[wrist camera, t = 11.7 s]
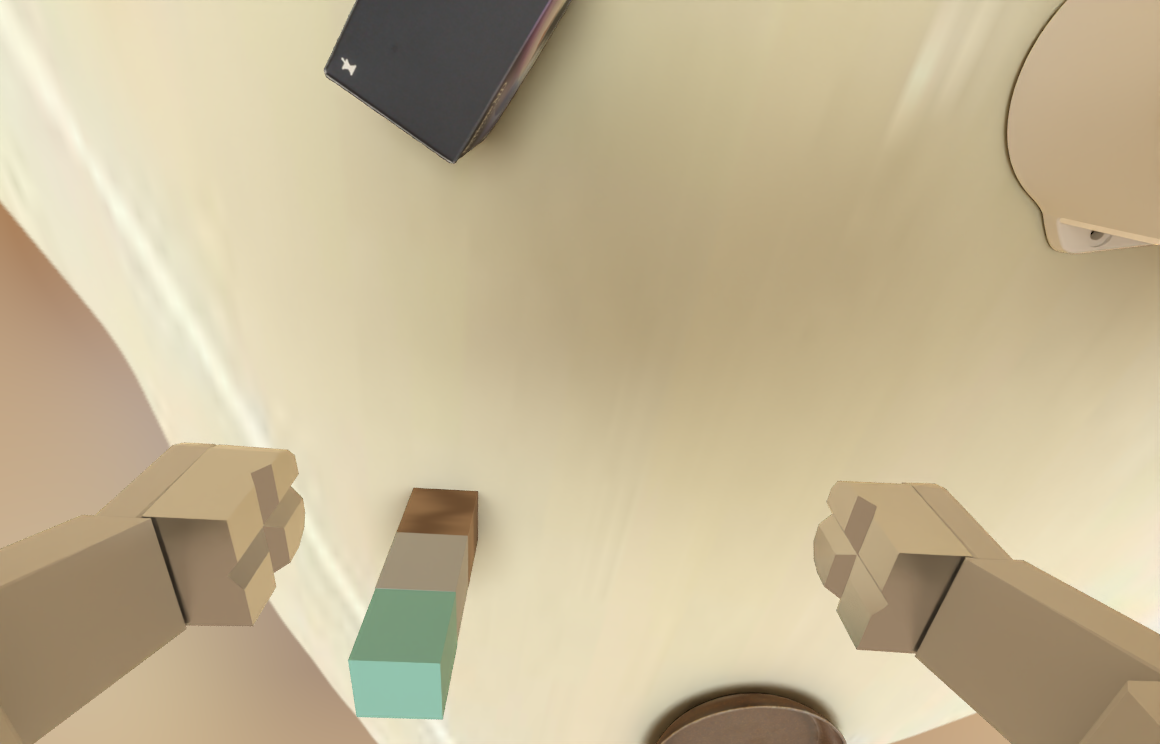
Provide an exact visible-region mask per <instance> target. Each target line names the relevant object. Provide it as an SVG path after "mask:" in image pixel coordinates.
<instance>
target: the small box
mask: <svg viewBox="0 0 1160 744" xmlns="http://www.w3.org/2000/svg"><path fill="white" fill-rule="evenodd" d="M570 2H571V0H356V2H355V4H354V6H353V8H352V10H351V12H350V14H349V16H348V18H347V21H346V23H345V25H344V27H343V29H342V32H341V34H340V36H339V38H338V40H337V42H336V45H335V46H334V49H333V51H332V53H331V55H330V57H329V59H328V62H327V64H326V66H325V68H324V72H325V75H326V77H327V78H328V79H329V80H331V81H333V82H334V83H336V84H337V85H339V86H340V87H342V88H343V89H344V90H346V91H348V92H349V93H350V94H352V95H353V96H355V97H356V98H358V99H359V100H360V101H362V102H363V103H365V104H366V105H367V106H369V107H370V108H372V109H373V110H374V111H376V112H377V113H379V114H380V115H382V116H383V117H385V118H386V119H388V120H389V121H391V122H392V123H393V124H395V125H396V126H397V127H399V128H400V129H402V130H403V131H404V132H406V133H407V134H409V135H410V136H412V137H413V138H414V139H416V140H417V141H419V142H420V143H422V144H423V145H425V146H426V147H427V148H429V149H430V150H432V151H433V152H435V153H436V154H437V155H439V156H440V157H441V158H443V159H445V160H446V161H447V162H449V163H453V164H454V163H456V161H457V160H458V159H459V158H461V157H463V156H464V155H465V154H466V153H467V152H469V151H470V150H471V149H473V148H474V147H475V146H476V145H478V144H479V143H481V142H482V141H483V140H484V139H485V138H486V136H487V135H488V134H489V132H490V131H491V130H492V128H493V127H494V125H495V124H496V123H497V121H498V120H499V118H500V116H501V115H502V113H503V112H504V110H505V109H506V107H507V106H508V104H509V102H510V101H511V99H512V97H513V96H514V94H515V93H516V91H517V90H518V88H519V86H520V85H521V83H522V81H523V80H524V78H525V77H526V75H527V74H528V72H529V70H530V69H531V67H532V66H533V64H534V63H535V61H536V59H537V58H538V56H539V54H540V53H541V51H542V49H543V47H544V46H545V44H546V42H547V41H548V39H549V37H550V36H551V34H552V32H553V31H554V29H555V27H556V26H557V24H558V22H559V21H560V19H561V17H562V15H563V14H564V12H565V10H566V9H567V7H568V5H569V4H570Z"/></svg>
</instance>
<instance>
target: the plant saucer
mask: <svg viewBox="0 0 1160 744" xmlns="http://www.w3.org/2000/svg"><path fill="white" fill-rule="evenodd" d="M656 744H846V741H845V739H844V737H843V735H842V734H841V733H840V731H839V730H838V729H837V728H836V727H835V726H834V725H833V724H832V723H830V722H829V721H828V720H827V719H826V718H824V717H823V716H822V715H820V714H819V713H817V712H816V711H814V710H812V709H811V708H809V707H807V706H805V705H803V704H801V703H798V702H796V701H794V700H791V699H788V698H784V697H780V696H776V695H770V694H760V693H745V694H735V695H729V696H724V697H720V698H717V699H713V700H710V701H708V702H705V703H703V704H700V705H698V706H696V707H694V708H692V709H691V710H689V711H687V712H686V713H684V714H683V715H681V716H680V717H679V718H678V719H677V720H675V721H674V722H673V723H672V724H671V725H670V726H669V727H668V728H667V729H666V731H665V732H664V733H663V734H662V736H661V737H660V739H659V740H658V742H657V743H656Z"/></svg>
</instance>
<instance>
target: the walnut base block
mask: <svg viewBox="0 0 1160 744" xmlns="http://www.w3.org/2000/svg"><path fill="white" fill-rule="evenodd" d="M397 532H404V533H424V534H443V535H463V536H468V586H469V581H470V576H471V571H472V566H473V561H474V556H475V551H476V546H477V541H478V491H462V490H443V489H424V488H413V491H412V493H411V496H410V499H409V501H408V504H407V506H406V509H405V512H404V514H403V517H402V519H401V522H400V525H399V527H398V530H397Z"/></svg>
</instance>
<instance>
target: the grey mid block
mask: <svg viewBox="0 0 1160 744" xmlns="http://www.w3.org/2000/svg"><path fill="white" fill-rule="evenodd" d="M376 588H377V589H400V590H423V591H447V592H456V613H457V640H458V635H459V630H460V625H461V620H462V615H463V610H464V605H465V600H466V595H467V590H468V536H463V535H443V534H424V533H404V532H396V535H395V537H394V540H393V543H392V545H391V548H390V550H389V553H388V556H387V558H386V561H385V563H384V566H383V569H382V571H381V574H380V577H379V579H378V582H377V584H376V587H375V589H376Z"/></svg>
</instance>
